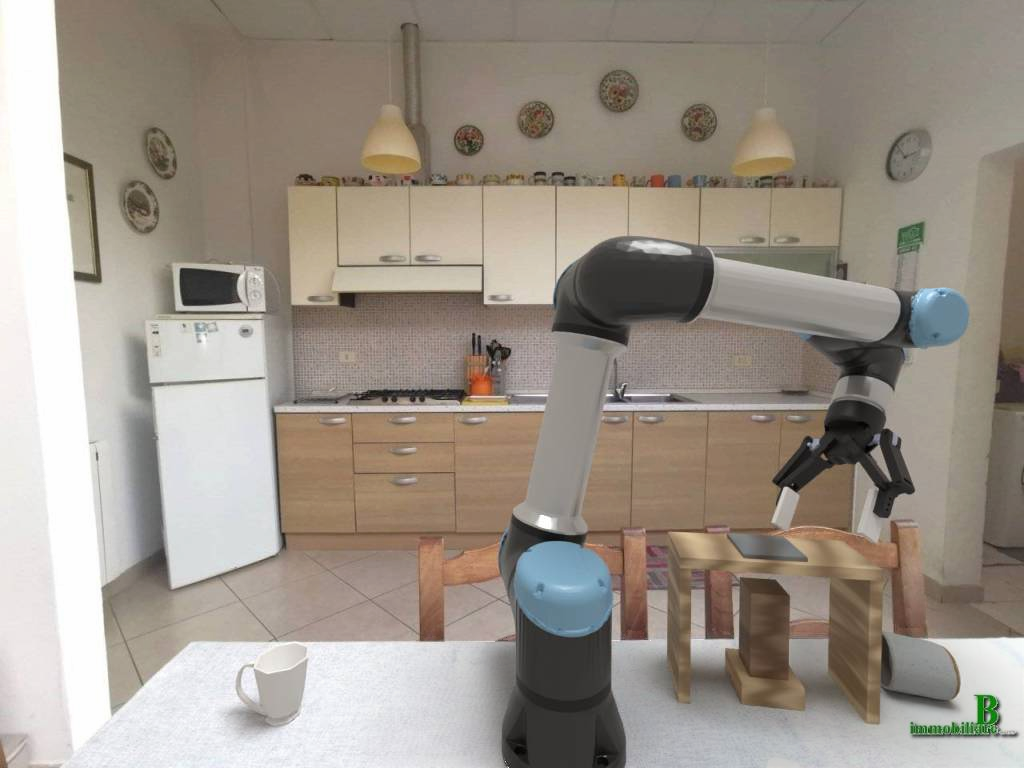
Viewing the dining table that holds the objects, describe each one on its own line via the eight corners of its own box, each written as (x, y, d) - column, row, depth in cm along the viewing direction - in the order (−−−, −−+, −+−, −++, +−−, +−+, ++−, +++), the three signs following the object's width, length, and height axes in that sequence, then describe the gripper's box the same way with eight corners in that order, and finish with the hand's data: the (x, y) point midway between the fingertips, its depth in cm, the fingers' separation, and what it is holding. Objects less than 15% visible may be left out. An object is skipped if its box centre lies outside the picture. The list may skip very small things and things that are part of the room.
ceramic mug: (964, 715, 62) (966, 658, 61) (891, 702, 64) (892, 647, 64) (921, 667, 72) (922, 618, 72) (859, 657, 74) (860, 610, 74)
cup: (295, 736, 59) (294, 674, 58) (220, 732, 59) (218, 671, 59) (321, 696, 66) (320, 641, 65) (253, 694, 66) (252, 639, 66)
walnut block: (749, 676, 65) (751, 593, 64) (738, 654, 70) (739, 577, 69) (788, 680, 64) (790, 596, 64) (774, 658, 69) (775, 579, 69)
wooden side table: (678, 702, 64) (680, 553, 63) (667, 657, 74) (668, 527, 73) (879, 724, 60) (883, 565, 59) (838, 673, 70) (841, 536, 69)
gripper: (969, 414, 62) (937, 559, 55) (804, 431, 85) (767, 535, 79) (931, 382, 61) (893, 527, 54) (775, 409, 84) (734, 512, 78)
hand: (818, 532), depth 66 cm, fingers open, 13 cm apart
